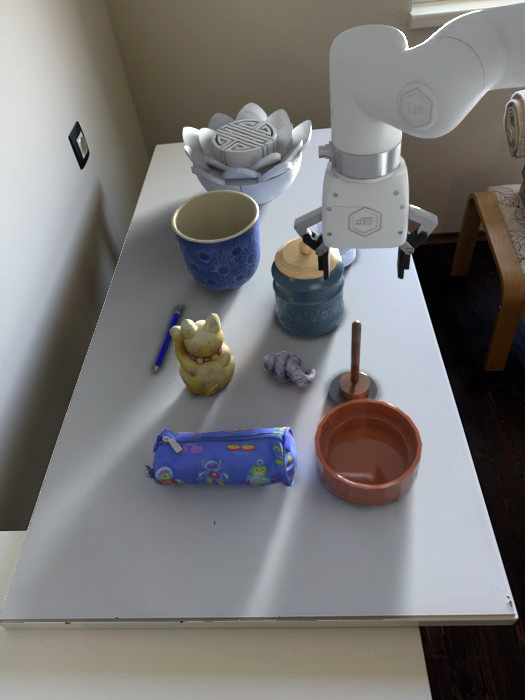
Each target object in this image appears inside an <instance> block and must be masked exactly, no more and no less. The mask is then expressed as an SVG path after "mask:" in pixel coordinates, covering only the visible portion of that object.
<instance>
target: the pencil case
mask: <svg viewBox="0 0 525 700" xmlns="http://www.w3.org/2000/svg"><path fill="white" fill-rule="evenodd" d="M297 451H298V450H297V445H296V442H295V437H294V434H293V429H292V428H291V427H290V426H283V427H272V428H271V427H270V428H269V427H268V428H267V427H255V428H245V429H244V428H242V429H241V428H240V429H225V430H217V431H216V430H215V431H204V432H191V431H190V432H189V431H187V432H180V431H177V432H176V433H173V431H172V430H169V429H167V428H164V429H163V430H161V431H160V433H159V434H157V436H156V438H155V443H154V445H153V449H152V453H154V455H153V459H152V466H151V465H148V464H145V465H144V477H145V478H149V479H152V480H153V482H154V483H155V484H157V485H159V486H169V485H178V484H179V485H180V484H181V485H201V486H234V487H248V486H249V487H252V486H253V487H255V486H256V487H257V486H265V485H267V486H269V485H276V484H282V485H284V486H285V487H292V486H294V483H295V477H296V472H297V468H298V452H297Z"/></svg>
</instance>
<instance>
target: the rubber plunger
mask: <svg viewBox="0 0 525 700" xmlns="http://www.w3.org/2000/svg"><path fill="white" fill-rule="evenodd" d="M361 342H362V322H361V321H359V320H355V321H353V322H352V323H351V339H350V343H351V344H350V346H351V347H350V371H346V372H347V373H345V372H344V373H345V374H344V375H343V376H342V377H341V378H340V381H339V391H340V394H341V396H342V397H343V398H344V399H346V400H348V401H351V400H358V399H365V398H366V397H367V396H368V394H369V388H370V381H369V379H368V377H367V376H366V375H367V374H366V373H364V372H361V371H360V365H361V344H362V343H361ZM363 373H364V374H363ZM365 374H366V375H365Z"/></svg>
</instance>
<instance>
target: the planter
mask: <svg viewBox="0 0 525 700" xmlns="http://www.w3.org/2000/svg"><path fill="white" fill-rule="evenodd" d="M259 209H260V208H259V205H258V204H256V202H255V201H254V200H253V199H252V198H251V197H249V196H247V195H245V194H243V193H240V192H236V191H229V190H217V191H210V192H207V191H206V192H202V193H199V194H196V195H194V196H191V197H189V198H188V199H186V200H185V201H182V203H180V204H179V205H178V207H176V209H175V210H174V212H173V213H172V215H171V219H170V226H171V228H172V231H173V234H174V236H175V240H176V243H177V246H178V248H179V251H180V254H181V257H182V259H183V262H184V265H185V268H186V270H187V271H188V273H189V274H190V276H191V277H192V279H193V280H194V281H195V282H196V283H198V284H199V285H200V286H201V287H204V288H206V289H209V290H212V291H221V292H223V291H230V290H235V289H238V288H239V287H242V286H243V285H245V284H246V283H247V282H248V281H250V280H251V279H252V277H254V275H255V274H256V272H257V270H258V268H259V264H260V261H261V231H260V210H259Z"/></svg>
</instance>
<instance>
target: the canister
mask: <svg viewBox="0 0 525 700" xmlns="http://www.w3.org/2000/svg"><path fill="white" fill-rule="evenodd" d="M329 251H330V273H329V279H328V280H324V275H323V271H319V270H318V256H317V255H316V254H315V251H314V250H313V249H311V248H310V247H309V246H307V245H306V244H305V243H303V239H302V238H301V237H300V236H299V237H296V238H294V239H291V240H288V241H286V242H285V243H283V244H282V245H281V246H279V248H278V249H277V250H276V253H275V255H274V260H273V261H272V264H271V267H270V273H271V276H272V289H273V292H274V298H275V315H276V318H277V321H278V322H279V324H280V326H281V327H282V328H283V330H285V331H287V332H288V333H290V334H292V335H295V336H297V337H304V338H313V337H320V336H323V335H326V334H328V333H330V332H331V331H333V330H334V329H336V328H337V326H339V324H340V323H341V320H342V319H343V315H344V311H345V302H344V285H345V276H344V271H345V267H344V262H343V260H342V258H341V256H340V255H339V251H338V249H334V248H330V249H329Z"/></svg>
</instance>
